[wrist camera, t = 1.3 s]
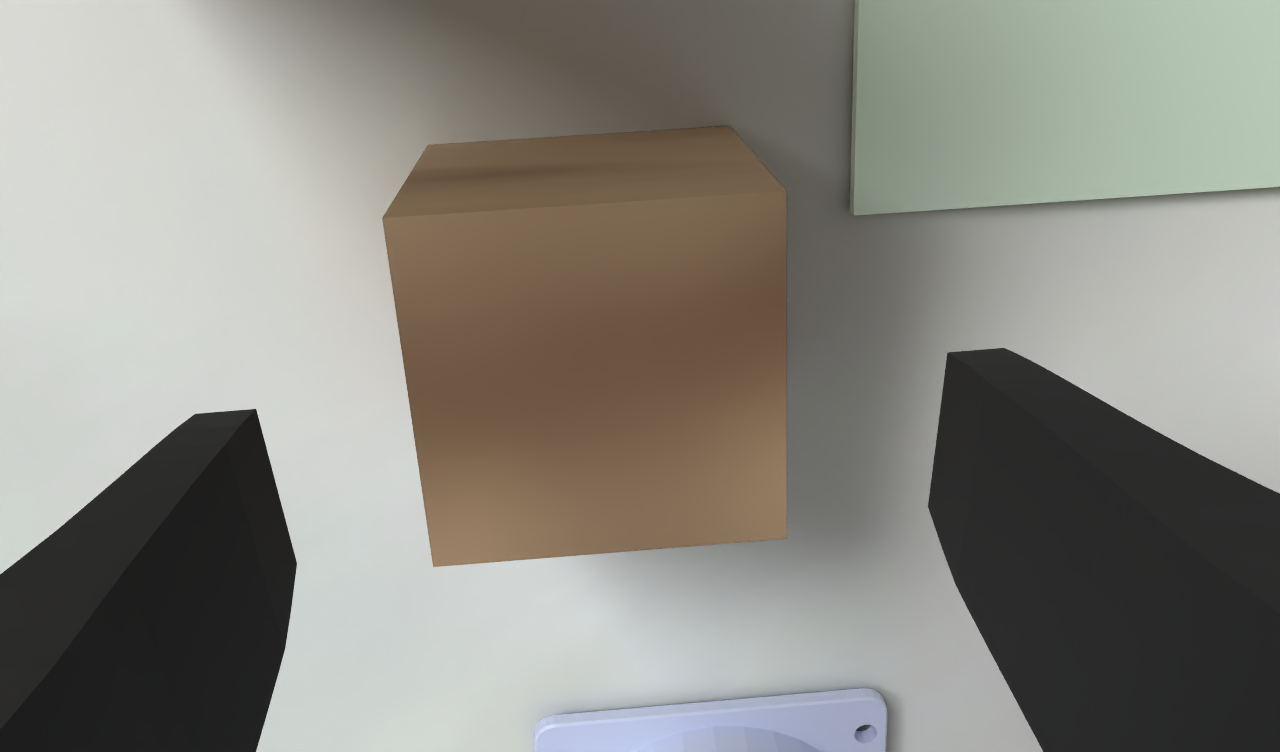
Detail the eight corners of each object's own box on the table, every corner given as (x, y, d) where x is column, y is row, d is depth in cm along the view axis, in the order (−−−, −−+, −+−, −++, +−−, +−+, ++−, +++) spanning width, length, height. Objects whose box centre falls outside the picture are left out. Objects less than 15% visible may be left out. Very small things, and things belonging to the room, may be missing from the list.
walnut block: (734, 398, 22) (786, 539, 17) (463, 418, 22) (433, 567, 17) (729, 124, 20) (786, 190, 15) (428, 144, 20) (382, 217, 15)
